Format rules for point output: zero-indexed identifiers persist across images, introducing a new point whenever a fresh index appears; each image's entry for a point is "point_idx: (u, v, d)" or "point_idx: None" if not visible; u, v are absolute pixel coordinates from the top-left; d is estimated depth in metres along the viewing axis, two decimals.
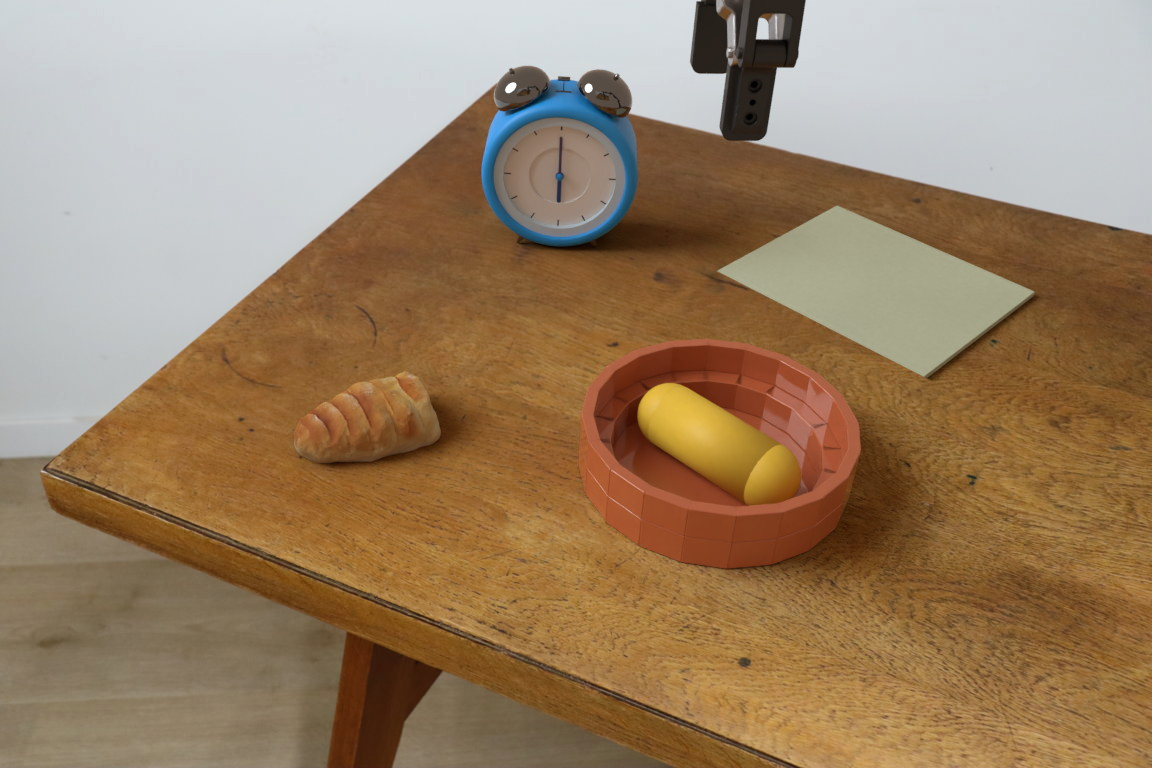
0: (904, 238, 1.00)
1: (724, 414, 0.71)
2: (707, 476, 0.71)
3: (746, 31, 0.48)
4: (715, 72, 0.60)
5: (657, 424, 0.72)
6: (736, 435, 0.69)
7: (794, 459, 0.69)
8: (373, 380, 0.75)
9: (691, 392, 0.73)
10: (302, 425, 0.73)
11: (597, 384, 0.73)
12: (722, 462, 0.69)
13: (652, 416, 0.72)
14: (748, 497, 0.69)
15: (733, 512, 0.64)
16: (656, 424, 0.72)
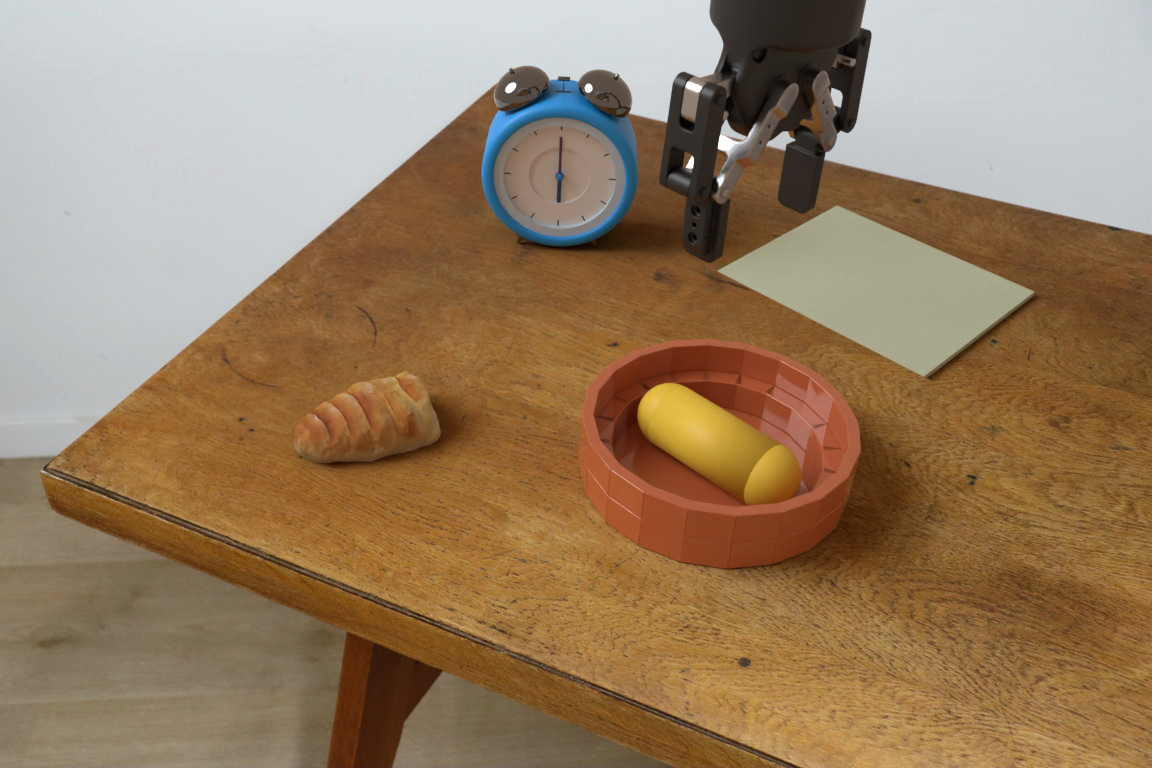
0: (904, 238, 1.00)
1: (724, 414, 0.71)
2: (707, 476, 0.71)
3: (662, 156, 0.55)
4: (794, 209, 0.65)
5: (657, 424, 0.72)
6: (736, 435, 0.69)
7: (794, 459, 0.69)
8: (373, 380, 0.75)
9: (691, 392, 0.73)
10: (302, 425, 0.73)
11: (597, 384, 0.73)
12: (722, 462, 0.69)
13: (652, 416, 0.72)
14: (748, 497, 0.69)
15: (733, 512, 0.64)
16: (656, 424, 0.72)
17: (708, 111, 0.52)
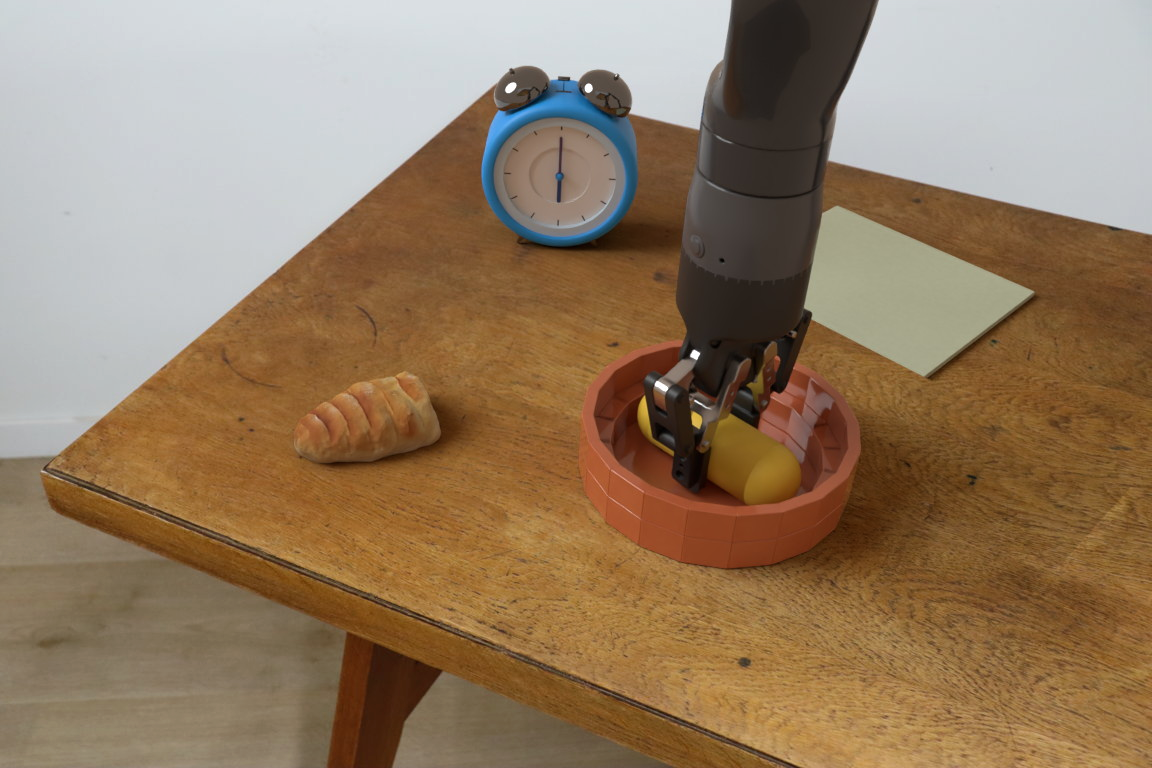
0: (904, 238, 1.00)
1: None
2: (707, 476, 0.71)
3: (650, 425, 0.67)
4: None
5: None
6: (736, 435, 0.69)
7: (794, 459, 0.69)
8: (373, 380, 0.75)
9: None
10: (302, 425, 0.73)
11: (597, 384, 0.73)
12: (722, 462, 0.69)
13: None
14: (748, 497, 0.69)
15: (733, 512, 0.64)
16: None
17: (674, 410, 0.63)
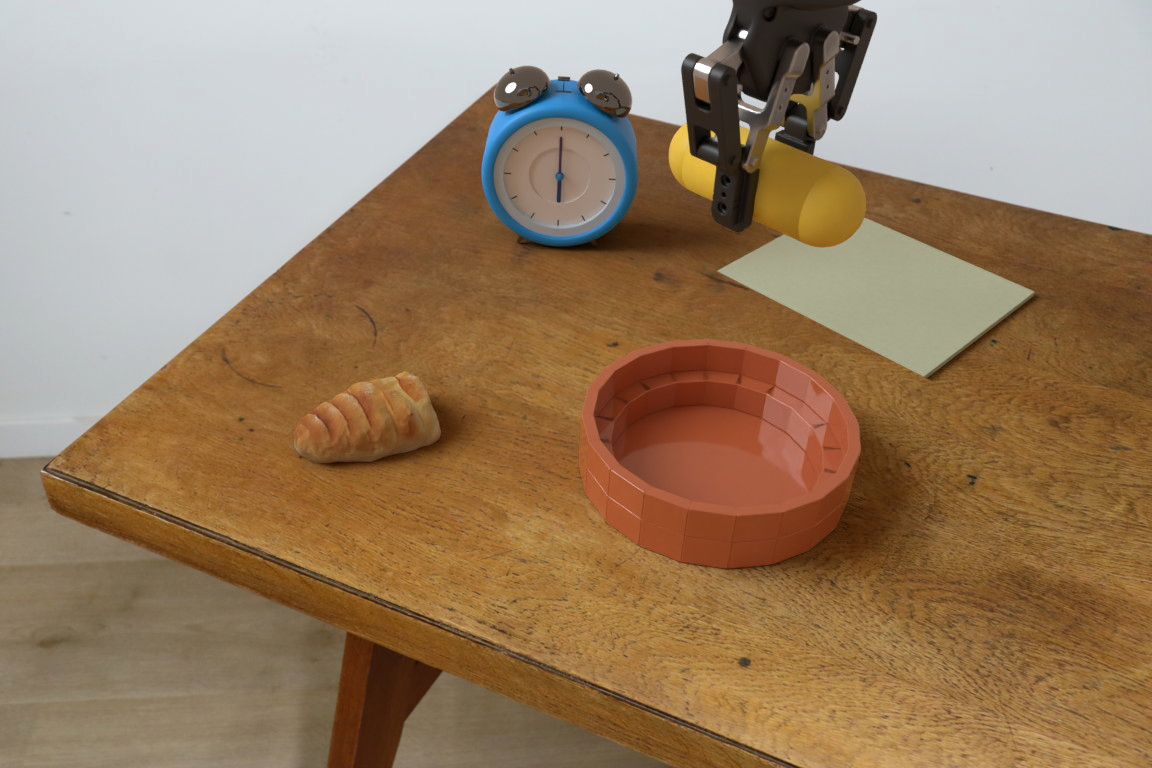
0: (904, 238, 1.00)
1: (773, 140, 0.60)
2: (753, 212, 0.60)
3: None
4: None
5: (693, 157, 0.61)
6: (789, 157, 0.58)
7: (858, 182, 0.58)
8: (373, 380, 0.75)
9: None
10: (302, 425, 0.73)
11: (597, 384, 0.73)
12: (772, 188, 0.58)
13: (687, 148, 0.61)
14: (804, 226, 0.58)
15: (733, 512, 0.64)
16: (691, 157, 0.61)
17: (719, 95, 0.52)
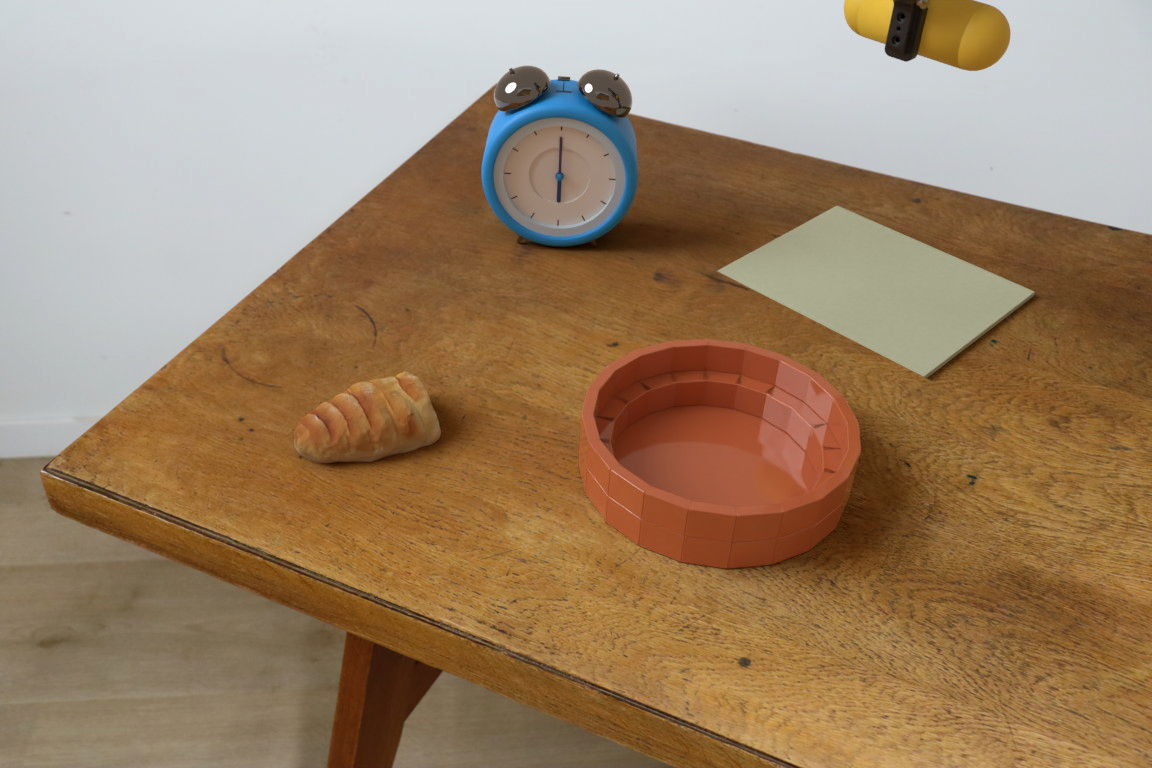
0: (904, 238, 1.00)
1: None
2: None
3: None
4: None
5: (868, 4, 0.78)
6: None
7: None
8: (373, 380, 0.75)
9: None
10: (302, 425, 0.73)
11: (597, 384, 0.73)
12: (937, 22, 0.75)
13: None
14: (964, 50, 0.74)
15: (733, 512, 0.64)
16: (867, 4, 0.78)
17: None
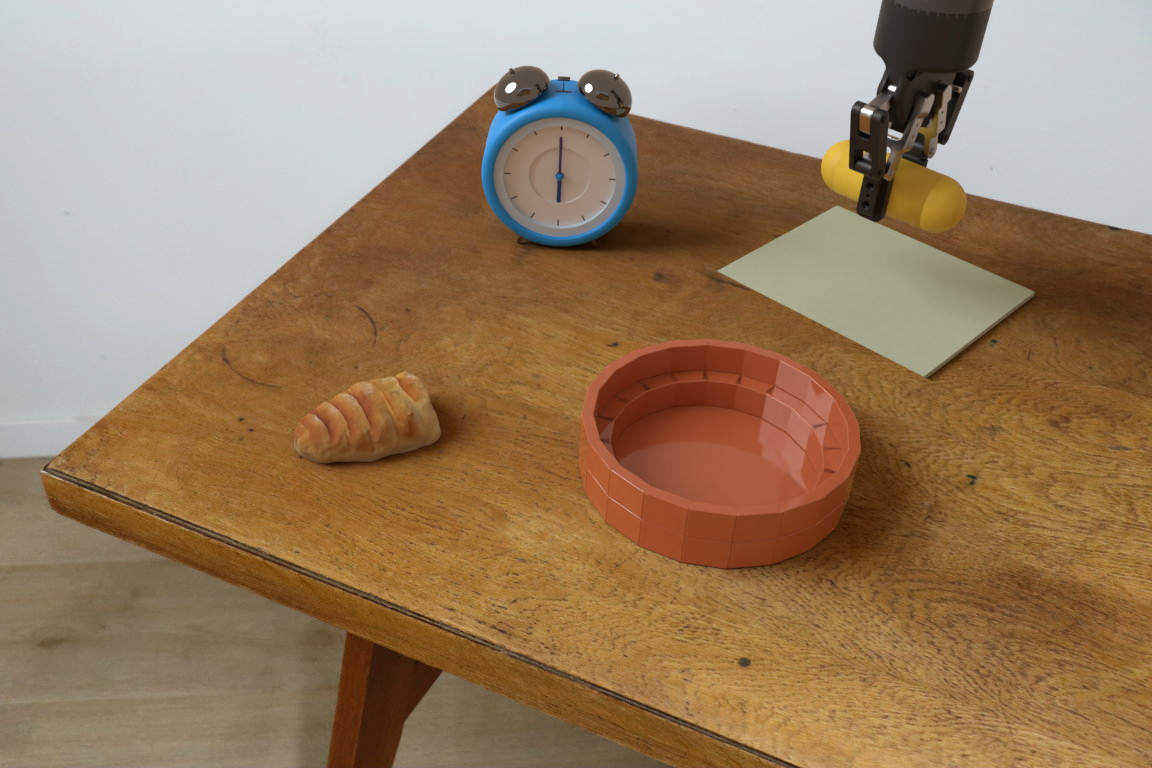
0: (904, 238, 1.00)
1: None
2: None
3: (849, 153, 0.82)
4: None
5: (842, 169, 0.87)
6: (913, 170, 0.85)
7: None
8: (373, 380, 0.75)
9: None
10: (302, 425, 0.73)
11: (597, 384, 0.73)
12: (901, 191, 0.84)
13: (837, 162, 0.88)
14: (925, 217, 0.84)
15: (733, 512, 0.64)
16: (841, 169, 0.88)
17: (878, 129, 0.79)
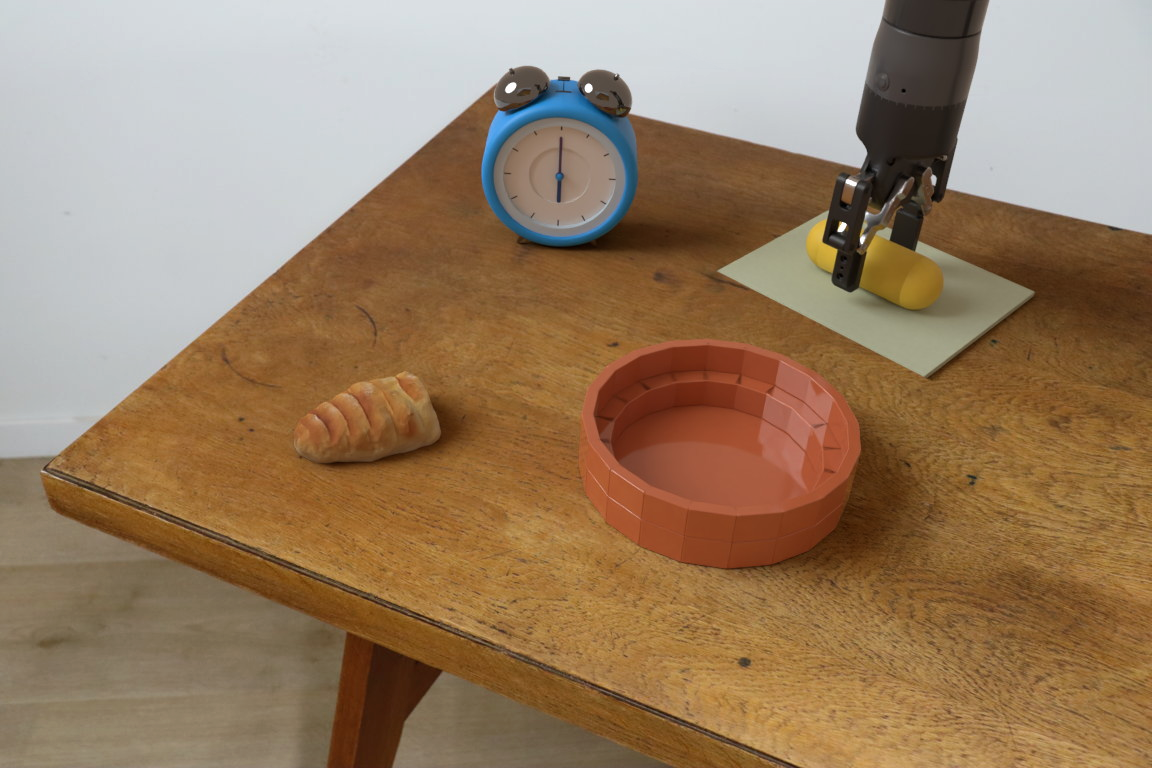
0: None
1: (880, 237, 0.91)
2: (867, 285, 0.90)
3: None
4: None
5: (826, 247, 0.92)
6: (893, 250, 0.89)
7: (939, 268, 0.88)
8: (373, 380, 0.75)
9: None
10: (302, 425, 0.73)
11: (597, 384, 0.73)
12: (882, 270, 0.89)
13: (821, 241, 0.92)
14: (904, 296, 0.88)
15: (733, 512, 0.64)
16: (824, 247, 0.92)
17: (861, 198, 0.82)
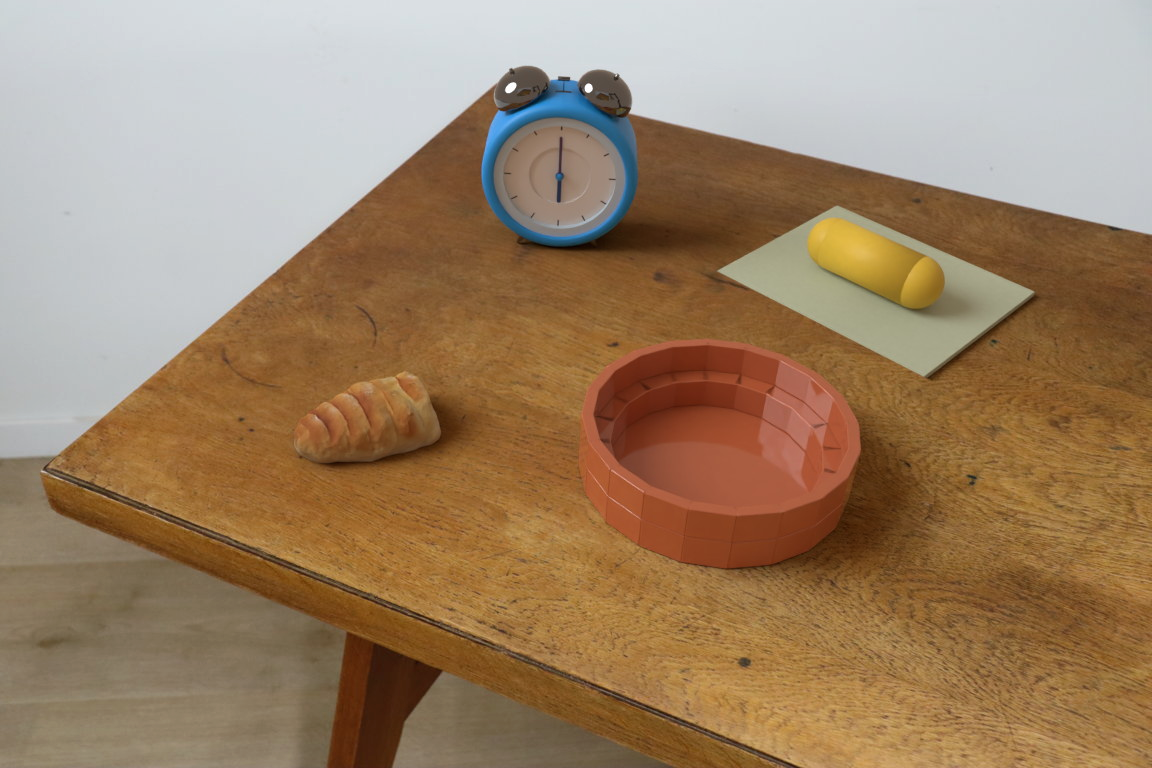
0: (904, 238, 1.00)
1: None
2: (868, 283, 0.90)
3: None
4: None
5: (828, 244, 0.92)
6: (895, 248, 0.89)
7: (940, 267, 0.89)
8: (373, 380, 0.75)
9: (853, 223, 0.93)
10: (302, 425, 0.73)
11: (597, 384, 0.73)
12: (884, 267, 0.89)
13: (824, 238, 0.92)
14: (905, 293, 0.88)
15: (733, 512, 0.64)
16: (827, 244, 0.92)
17: None
